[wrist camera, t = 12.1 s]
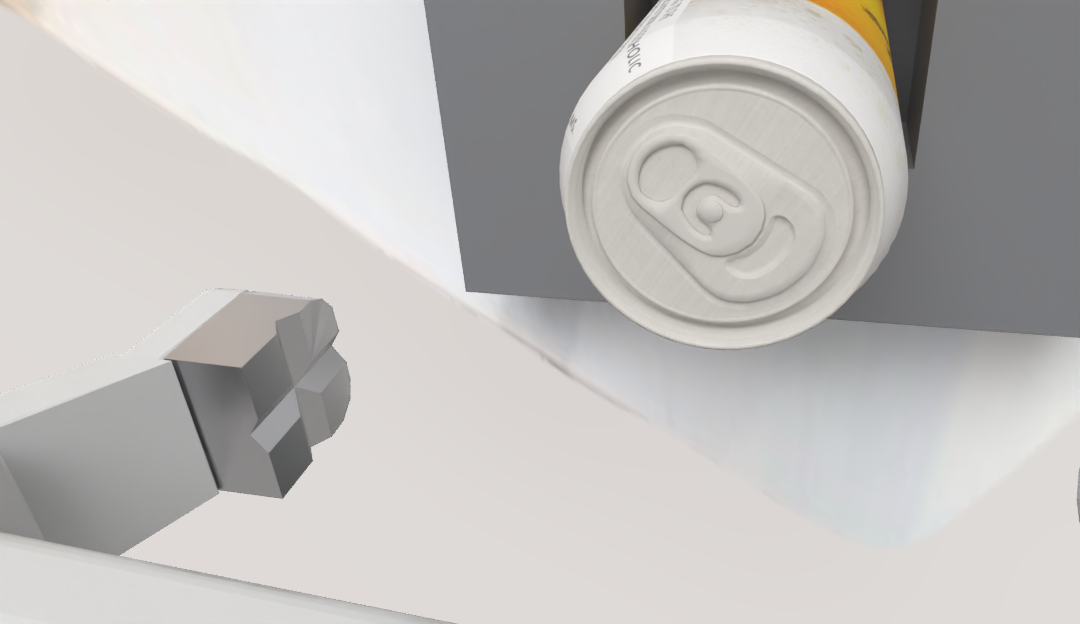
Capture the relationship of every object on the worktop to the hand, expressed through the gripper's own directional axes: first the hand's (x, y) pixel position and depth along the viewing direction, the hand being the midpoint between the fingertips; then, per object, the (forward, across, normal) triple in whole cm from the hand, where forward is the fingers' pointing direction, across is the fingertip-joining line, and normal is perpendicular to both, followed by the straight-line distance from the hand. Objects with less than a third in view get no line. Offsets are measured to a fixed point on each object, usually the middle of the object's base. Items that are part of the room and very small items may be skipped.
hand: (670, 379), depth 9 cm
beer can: (+21, 0, +1) cm, 21 cm away
